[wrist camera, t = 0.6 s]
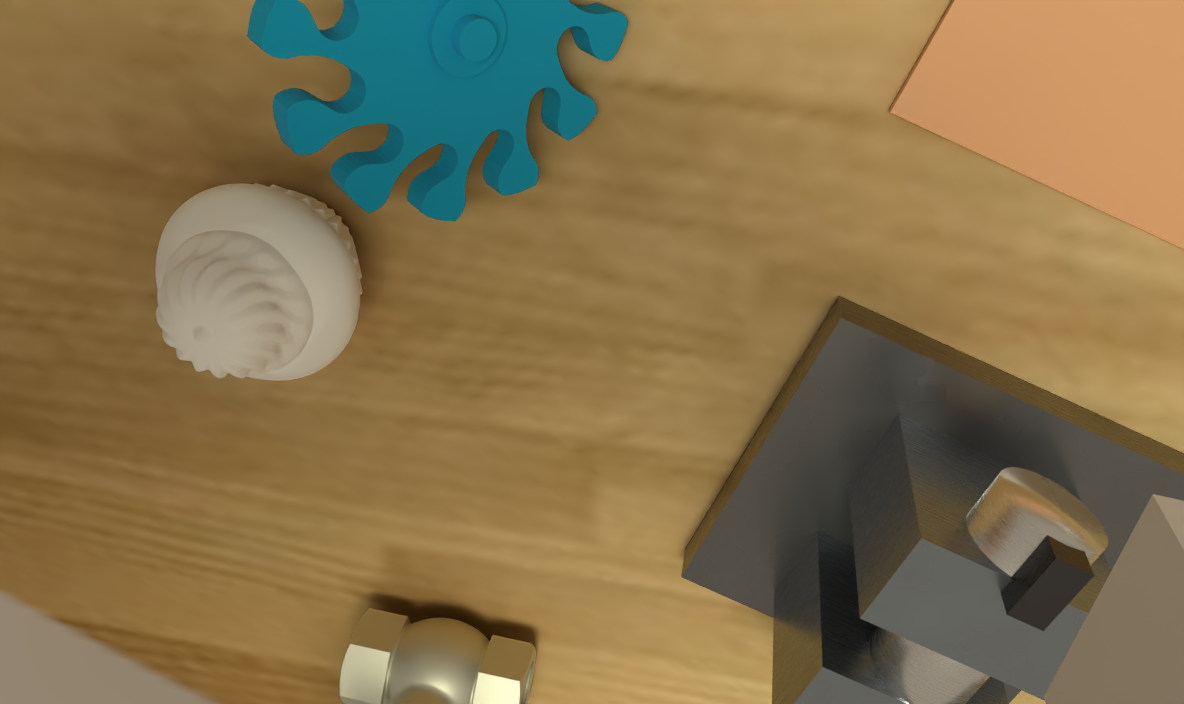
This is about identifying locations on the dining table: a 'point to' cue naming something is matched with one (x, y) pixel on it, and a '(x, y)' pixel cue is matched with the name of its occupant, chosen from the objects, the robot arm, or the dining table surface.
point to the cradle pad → (1065, 98)
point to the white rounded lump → (257, 282)
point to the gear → (436, 87)
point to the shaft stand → (922, 521)
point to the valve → (432, 663)
